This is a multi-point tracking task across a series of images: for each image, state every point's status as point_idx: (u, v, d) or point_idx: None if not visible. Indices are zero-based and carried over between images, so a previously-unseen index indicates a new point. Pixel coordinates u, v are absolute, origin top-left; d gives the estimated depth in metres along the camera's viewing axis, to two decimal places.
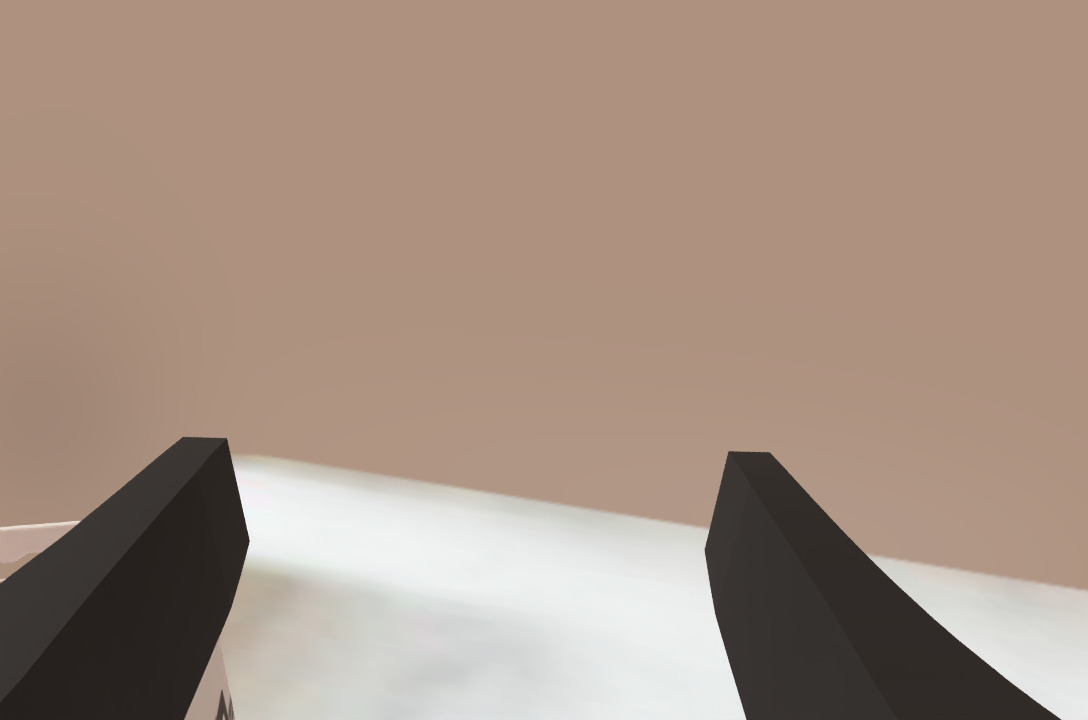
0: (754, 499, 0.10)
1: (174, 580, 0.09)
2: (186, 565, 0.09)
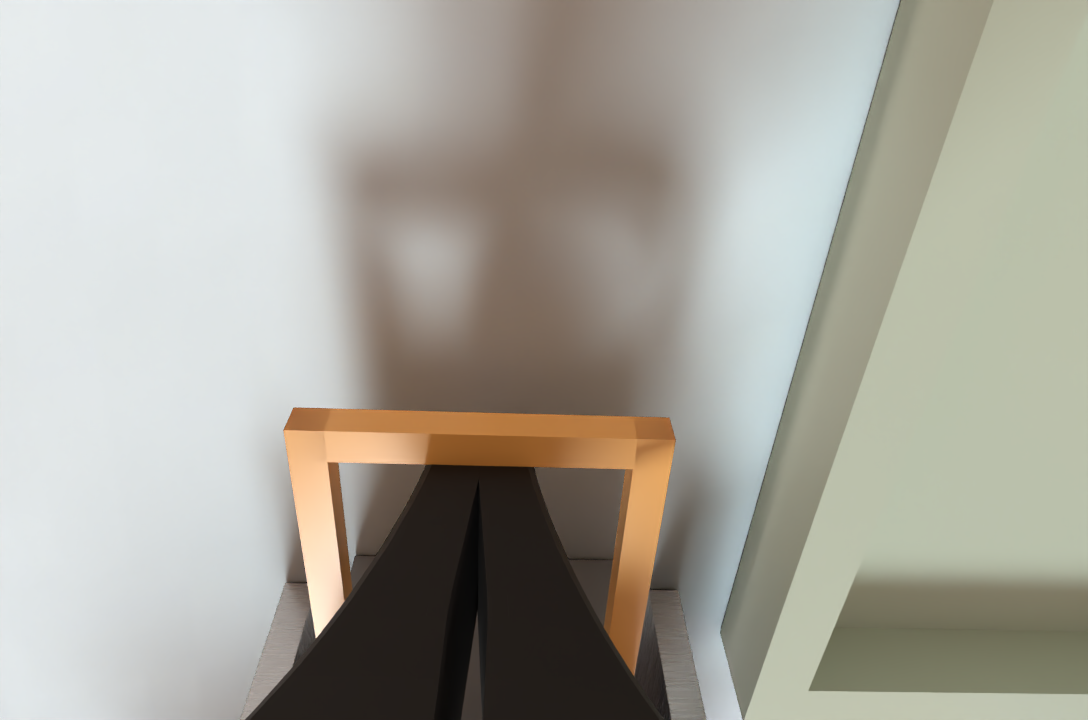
0: (479, 493, 0.09)
1: (467, 584, 0.09)
2: (471, 570, 0.09)
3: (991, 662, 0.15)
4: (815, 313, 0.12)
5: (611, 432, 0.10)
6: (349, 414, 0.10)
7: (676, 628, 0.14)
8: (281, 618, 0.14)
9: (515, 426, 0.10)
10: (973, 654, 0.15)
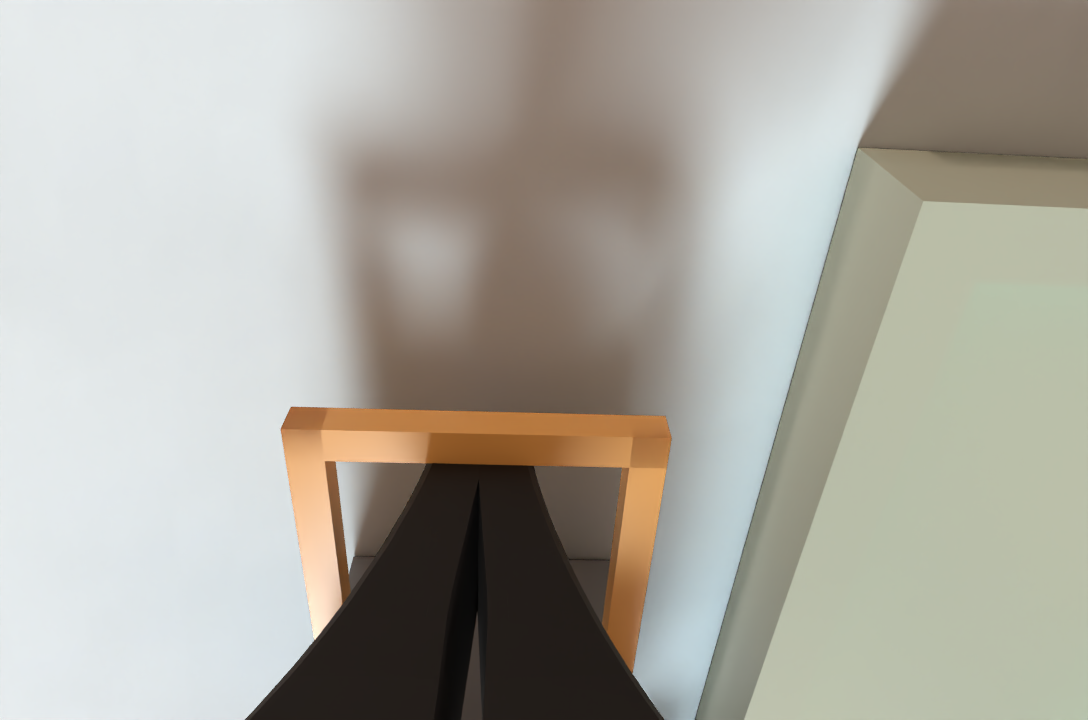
0: (479, 493, 0.09)
1: (467, 584, 0.09)
2: (470, 570, 0.09)
3: None
4: (732, 600, 0.15)
5: (607, 430, 0.10)
6: (346, 413, 0.10)
7: None
8: None
9: (512, 425, 0.10)
10: None
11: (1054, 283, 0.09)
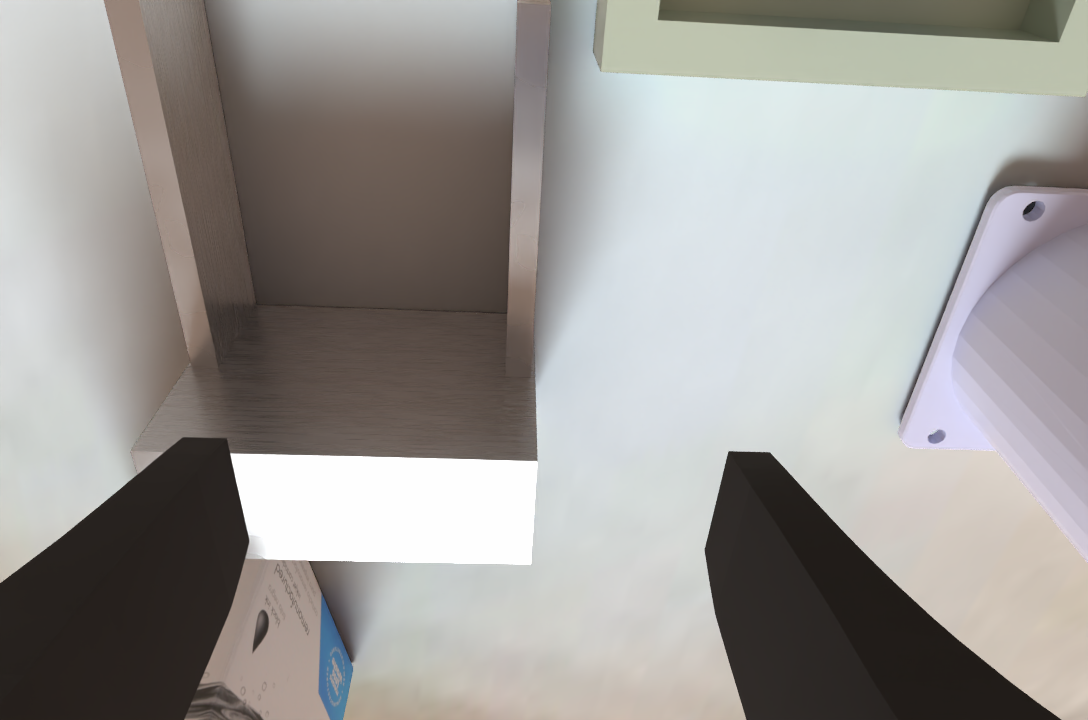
0: (754, 499, 0.10)
1: (174, 580, 0.09)
2: (186, 565, 0.09)
3: (840, 24, 0.15)
4: None
5: None
6: None
7: None
8: None
9: None
10: (824, 23, 0.15)
11: None
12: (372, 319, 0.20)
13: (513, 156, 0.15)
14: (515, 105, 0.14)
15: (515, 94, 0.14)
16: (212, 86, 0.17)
